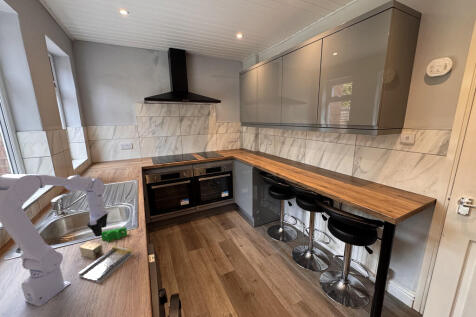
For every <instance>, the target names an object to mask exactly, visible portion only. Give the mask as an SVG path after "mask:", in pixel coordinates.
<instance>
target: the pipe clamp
mask: <svg viewBox="0 0 476 317" xmlns="http://www.w3.org/2000/svg"><path fill="white" fill-rule="evenodd" d="M126 236H128V230H127V227H126V226H125V227H120V228H115V229H109V230H104V231H103V230H102V235H101V236H100V237H101V240H102V241H107V243H109V242H111V241H112V240H116V239H117V241H119V240H120V239H121V237H126Z"/></svg>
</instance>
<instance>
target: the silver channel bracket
mask: <svg viewBox="0 0 476 317" xmlns="http://www.w3.org/2000/svg"><path fill="white" fill-rule="evenodd" d="M132 256H134V252H133V249H131V248H127V247H126V248H125V247H121V246H116V245H113V246H112V247H111V249H110V250H108V251H107V252H105V253H103V254H102V255H100V257H98V258H96V259H95V260H94V261H93V262H91V263H90V264H89V265H87V266H86V267H85V268H83V269H82V270H80V271H79V272H78V273H77V274H78V278H80V279H84V280H86V281H87V280H88V281H89V282H90V281H91V282H94V283H97V284H101V283H102V282H103V281H104V280H106V278H107V277H110V276H111V274H113V273H114V272H115V271H116V270H117V269H118V268H120V267H121V266H122V265H123V264H124V263H125V262H126V261H128V260H129V259H130V258H131V257H132Z"/></svg>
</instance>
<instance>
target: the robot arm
mask: <svg viewBox="0 0 476 317" xmlns="http://www.w3.org/2000/svg"><path fill="white" fill-rule="evenodd" d="M45 186H54V187H57V186H58V187H65V189H66V190H67V191H78V192H79V191H80V192H83V193H85V197H86V202H87V207H88V212H89V219H90V220H89V222H87V224H86V226H87V227H88V228H89V229H90V230H91V231H92V233H93V234H94V236H95V237H102V236H101V235H102V232H103V228H107V223H108V215H109V212H110V211H109V210H106V207H105V202H104V197H103V193H104V190H103V189H104V187H105V183H104V182H103V181H102V180H101V179H100V178H91V176H86V177H85V176H81V174H74V175H70V176H68V177H61V176H55V175H50V174H32V173H31V174H28V173H26V174H25V173H23V174H19V173H18V174H13V173H7V174H3V175H0V224H1V226H2V227H3V228H4V229H5V232H7V233H8V234H9V236H10V237H11V238H12V240H13V241H14V243H15V244H16V245H17V246H18V248H19V250H20V251H21V252H22V253H21V254H20V256H19V257H20V258H21V261H22V262H21V263H22V264H21V266H22V268H23V269H25V270H29V274H30V275H29V277H27V279H25V280H24V281H23V282H22V283H21V285H20V286H21V289H22V293H23V295H24V302H26V303H29V304H31V305H34V306H36V307H41V306H43V305H44V304H46V303H47V302H48V301H49V300H51V299H53V298H54V297H55V296H56V295H57V294H59V293H61V291H63V290H64V289H66V288H67V287H68V286H70V285H71V282H70V281H68V280H64V277H63V276H64V275H63V274H62V269H61V264H62V263H63V260H64V256H63V254H62V252H59V251H56V250H55V247H52V246H51V245H49V244H48V243H46V241H45V240H44V239H43V237H42V236H41V235H40V233H39V231H38V229H37V228H36V227H35V225H34V224H33V222H32V221H31V219H30V217H29V216H28V215H27V214H26V211H25V210H24V208H23V206H24V204H25V203H26V202H27V201H29V199H31V198H32V197H33V196H34V195H35V194H36V193H37V192H38V190H39V189H44V188H45Z"/></svg>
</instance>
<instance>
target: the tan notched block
mask: <svg viewBox="0 0 476 317" xmlns="http://www.w3.org/2000/svg"><path fill="white" fill-rule="evenodd" d="M79 251H80V256H81V257H82V258H86V259H91V260H94V261H96V260H97V255H100V256H103V255H104V251H103V245H102V244H101V243H97V242H93V241H90V240H89V241H86V242H85V243H84V244H82V245H80V246H79Z"/></svg>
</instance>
